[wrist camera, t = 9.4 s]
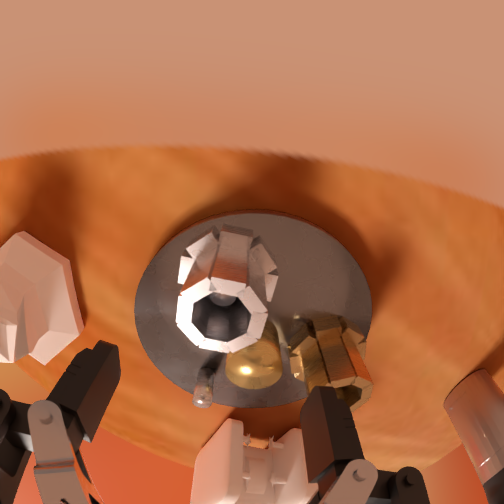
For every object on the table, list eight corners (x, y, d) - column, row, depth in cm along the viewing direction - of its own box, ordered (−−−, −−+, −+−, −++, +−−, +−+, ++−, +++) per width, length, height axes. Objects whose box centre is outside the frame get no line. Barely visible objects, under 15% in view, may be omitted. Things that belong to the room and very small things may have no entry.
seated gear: (361, 309, 21) (389, 358, 15) (357, 363, 23) (376, 411, 18) (284, 324, 21) (294, 379, 16) (291, 377, 24) (299, 428, 18)
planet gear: (284, 236, 19) (298, 277, 13) (262, 314, 21) (265, 370, 15) (191, 216, 18) (165, 249, 13) (179, 297, 20) (158, 349, 15)
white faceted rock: (6, 203, 20) (-84, 216, 7) (108, 272, 25) (45, 341, 11) (-16, 295, 21) (-83, 343, 7) (74, 360, 25) (31, 446, 12)
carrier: (399, 242, 20) (435, 271, 15) (318, 404, 28) (327, 442, 22) (149, 185, 19) (116, 200, 14) (141, 376, 26) (126, 414, 21)
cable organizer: (233, 403, 27) (229, 495, 17) (312, 421, 29) (326, 500, 18) (195, 451, 32) (186, 516, 22) (259, 464, 34) (261, 525, 23)
